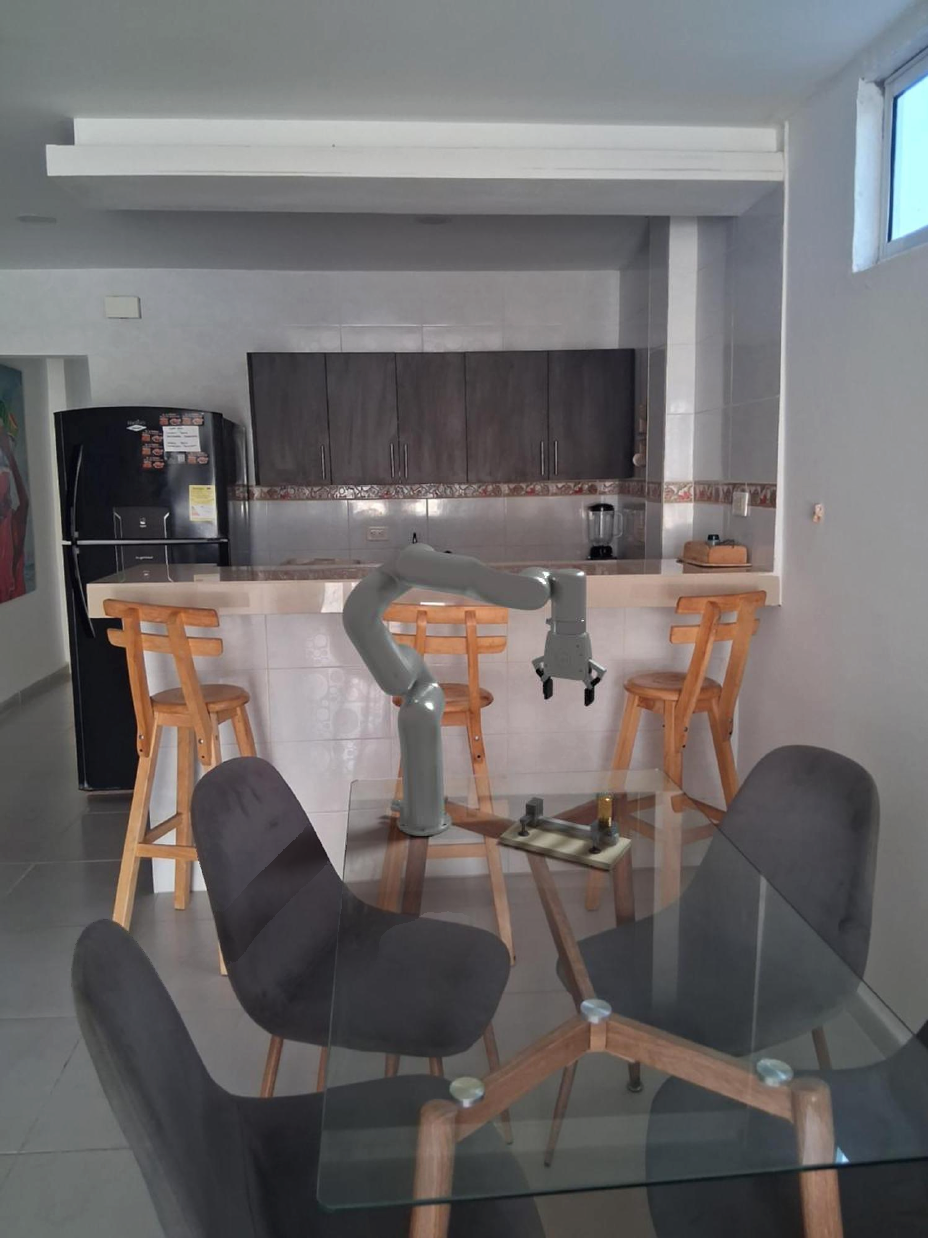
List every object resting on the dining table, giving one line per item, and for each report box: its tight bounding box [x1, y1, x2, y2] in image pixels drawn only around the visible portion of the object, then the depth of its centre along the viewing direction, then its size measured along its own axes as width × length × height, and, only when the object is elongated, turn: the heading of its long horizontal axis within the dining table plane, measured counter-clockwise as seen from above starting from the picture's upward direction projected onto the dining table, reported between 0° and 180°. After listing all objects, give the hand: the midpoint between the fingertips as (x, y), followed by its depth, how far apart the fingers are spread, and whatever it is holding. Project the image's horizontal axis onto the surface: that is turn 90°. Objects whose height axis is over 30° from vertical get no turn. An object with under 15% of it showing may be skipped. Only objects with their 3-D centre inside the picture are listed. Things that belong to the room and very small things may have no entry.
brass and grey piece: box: [589, 795, 620, 850], centre depth 204 cm, size 5×8×9 cm, turn 150°
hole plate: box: [499, 796, 632, 871], centre depth 208 cm, size 26×12×7 cm, turn 60°
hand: (568, 701), depth 209 cm, fingers open, 9 cm apart
